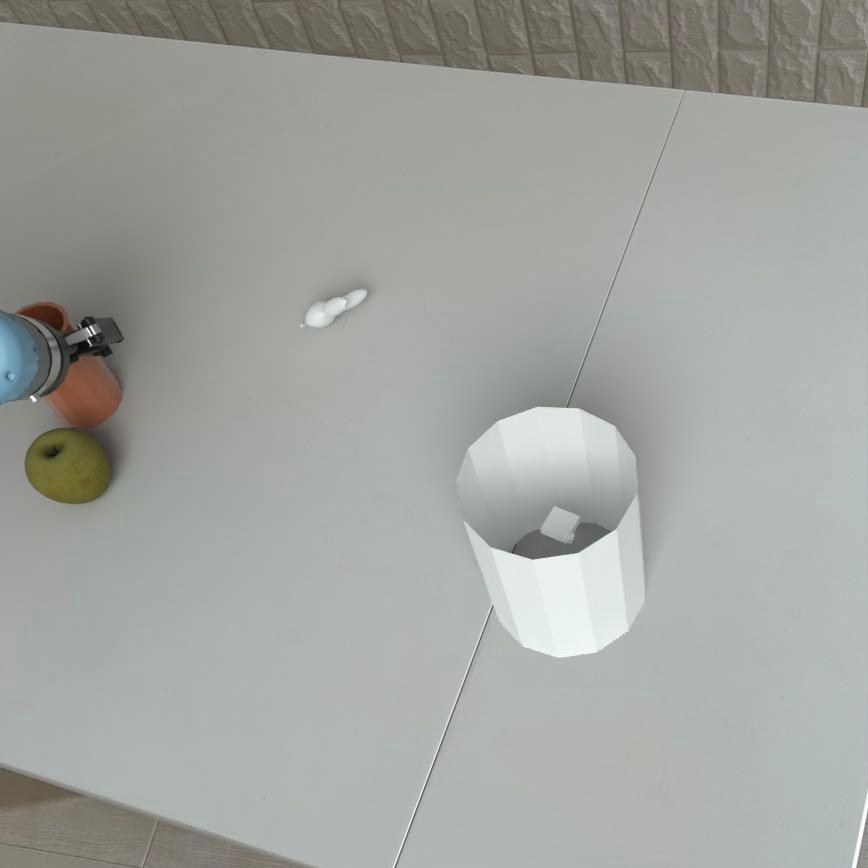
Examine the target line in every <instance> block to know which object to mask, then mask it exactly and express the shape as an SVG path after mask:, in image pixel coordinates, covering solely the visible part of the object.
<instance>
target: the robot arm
mask: <svg viewBox="0 0 868 868" xmlns="http://www.w3.org/2000/svg"><path fill="white" fill-rule="evenodd" d="M76 326H77V328H78V329H79V330H76V331H72V332H68V331H63V330H61V329H59V330H55V329H54V328H53V327H51V326H50V325H48V324H46V323H45V322H43V321H40V320H37V319H34V318H30V317H26V316H23V315H18V314H13V313H10V312H6V311H4V310H2V309H0V406H1V405H4V404H7V403H10V402H16V401H27V402H29V403H30V404H37V403H40V401H41V399H42V397H44V396H46V395H48V394H50V393H52V392H54V391H55V390H56V389H57V388H58V387H59V386H60V385H61V384H62V383H63V381H64V380H65V378H66V376H67V373H68V370H69V365H71V364H73V363H75V362H77V361H79V357H82V356H85V355H88V354H92V353H93V354H94V356H100V357H102V358H106V357H109V356H111V355H112V354H114V352H113V350H112V348H111V347H110V345H113V344H120V343H122V342H123V341H124V340H125V337H124V335H123V333H122V332H121V329H120V328H119V326H118V324H117V323H116V321H115V319H114V317H113V316H112V317H111V316H110V317H94V316H93V315H91V316H89V315H87V316H85V317H83V319H82V320H80V322H78V323H77V324H76Z"/></svg>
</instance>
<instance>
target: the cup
mask: <svg viewBox="0 0 868 868" xmlns="http://www.w3.org/2000/svg"><path fill="white" fill-rule="evenodd" d="M12 314H18V315H23V316H26V317H30V318H34V319H37V320H40V321H43V322H45V323H46V324H48V325H50V326H51V327H53V328H54V329H55V330H59V329H61V330H63V331H68V332H72V331H76V330H79V329H78V328H77V326H76V325H77V324H76V322H75V321H74V320H73V318H72V317H71V315H70V314H69V313H68V311H67V310H66V309H65V308H64V307H63V305H60V304H58V303H56V302H53V301H38V302H34V303H31V304H28V305H25V306H23V307H21V308H20V309H18V310H17V311H15V312H13V313H12ZM41 399H42V400H43V401H44V402H45V403H46V404H47V406H48V407H49V408H50V410H51V411H52V412H53V413H54V414H55V415H56V416H57V418H58V419H59V420H60V421H61V422H62V423H63V424H64V425H66V426H68V427H69V428H74V429H86V428H91V427H94V426H97V425H99V424H101V423H102V422H104V421H106V420H107V419H109V418H110V417H111V416H112V415H113V414H114V413H115V412H116V411H117V410H118V408H119V406H120V404H121V403H122V399H123V389H122V386H121V384H120V383H119V381H118V379H117V378H116V377H115V375H114V374H113V372H112V371H111V370H110V368H109V367H108V366H107V364H106V363H105V362H104V360H103V359H102V358H101V356H94V354H93V353H92V354H88V355H85V356H82V357H79V361H77V362H75V363H73V364H71V365H69V370H68V373H67V376H66V378H65V380H64V381H63V383H62V384H61V385H60V386H59V387H58V388H57V389H56V390H55V391H54V392H52V393H50V394H48V395H46V396H44V397H41Z"/></svg>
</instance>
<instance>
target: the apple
mask: <svg viewBox="0 0 868 868" xmlns="http://www.w3.org/2000/svg"><path fill="white" fill-rule="evenodd" d="M23 466H24V472H25V476H26V478H27V480H28V483H30V485H31V486H32V487H33V489H35V491H37V492H38V493H39V494H40V495H42V496H43V497H45V498H47V499H49V500H51V501H54V502H57V503H62V504H68V505H82V504H87V503H91V502H93V501H95V500H96V499H99V498H100V497H101V496H102V495H103V494H104V492H105V491H106V490H107V488H108V486H109V483H110V480H111V464H110V461H109V458H108V455H107V453H106V451H105V450H104V448H103V447H102V446H101V444H100V443H99V442H98V441H97V440H96V439H95V438H94V437H93V436H92V435H91V434H88V433H87V432H85V431H83V430H81V429H79V428H74V427H58V428H53V429H50V430H47V431H45V432H43V433H41V434H40V435H38V436H37V437H36V438H35V439H34V440H33V441H32V443H31V444H30V446H29V447H28V448H27V451H26V454H25V457H24V465H23Z"/></svg>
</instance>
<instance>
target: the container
mask: <svg viewBox="0 0 868 868" xmlns="http://www.w3.org/2000/svg"><path fill="white" fill-rule="evenodd" d="M638 478H639V477H638V465H637V456H636V455H635V453H634V452H633V450H632V449H631V447H630V445H629V444H628V443H627V441H626V440H625V439H624V437H623V436H622V434H621V432H620V431H619V430H618V428H617V427H616V426H615V425H614V424H612V423H609V422H608V421H605V420H603V419H602V418H600V417H598V416H596V415H594V414H592V413H589V412H587V411H585V410H583V409H581V408H577V407H555V406H554V407H553V406H535V407H533V408H530V409H527V410H523V411H522V412H518V413H516V414H513V415H511V416H508V417H505V418H502V419H499V420H497V421H496V422H495V423H493V425H491V427H489V428H488V429H487V430H486V431H485V432H484V433H483V434H482V435H481V436H480V437H479V438H478V439H476V441H474V442H473V443H472V444H471V445H470V446H468V448H467V450H466V453H465V455H464V458H463V461H462V464H461V467H460V469H459V473H458V475H457V478H456V481H455V483H454V485H455V489H456V494H457V498H458V503H459V507H460V513H461V517H462V521H463V524H464V527H465V529H466V532H467V536H468V538H469V540H470V544H471V547H472V550H473V552H474V556H475V558H476V560H477V563H478V566H479V569H480V572H481V575H482V577H483V580H484V583H485V586H486V588H487V592H488V596H489V598H490V600H491V604H492V606H493V609H494V612H495V614H496V617H497V620H498V622H499V623H500V624H501V626H503V628H504V629H506V630H507V632H508V633H509V634H510V635H511V636H512V637H513V638H514V639H515V640H516V641H517V642H518V643H519V644H520V645H521V647H523V648H526V649H529V648H530V649H529V650H531V651H535V652H538V651H539V653H541V652H542V654H545V655H548V656H550V655H551V657H553V658H557V659H561V658H569V657H575V656H583V655H582V654H584V655H590V653H591V654H597V653H599V652H600V651H602V650H603V649H604V647H605V648H606V647H607V645H608V646H610V643H611V644H613V641H614V640H615V641H617V640H618V639H620V638H621V637H623V636H624V635H626V634H627V633H629V632H630V630H629V629H631V628H632V626H633V624H634V623H635V621H636V619H637V617H638V615H639V614H640V612H641V610H640V609H642V608H643V606H644V604H645V603H646V574H645V573H646V572H645V570H646V569H645V556H644V544H643V533H642V532H643V531H642V529H643V528H642V518H641V506H640V504H641V503H640V496H639V495H640V492H639V479H638ZM580 523H586V524H597V525H599V526H600V525H601V526H600V527H602V526H603V527H602V528H604V529H606V530H608V531H609V533H607V534H606V535H604V536H603V537H601V538H599V539H598V540H596V541H595V542H593V543H591V544H590V545H589V546H587V547H585V548H584V549H582V550H581V551H579V552H576V553H569V554H562V555H555V556H550V557H549V556H548V557H542V558H535V559H531V558H528V557H525V556H522V555H519V554H515V553H510V551H511V550H512V549H513V548H514V547H515V546H516V545H517V544H518V543H519V542H520V541H521V540H523V538H524V537H526V535H527V534H530V533H532V532H535V531H538V530H540V534H542V535H544V536H547V537H549V538H551V539H554V540H556V541H559V542H562V543H564V544H568V543H569V544H572V543H573V542H574V539H575V538H576V536H575V535H576V534H575V532H576V530H577V528H578V527H579V525H580ZM611 531H612V532H611ZM642 605H643V606H642ZM641 607H642V608H641ZM637 614H638V615H637ZM636 616H637V617H636ZM635 618H636V619H635ZM634 620H635V621H634ZM632 623H633V624H632ZM631 625H632V626H631ZM630 627H631V628H630ZM626 632H627V633H626ZM625 633H626V634H625ZM623 634H624V635H623ZM622 635H623V636H622ZM620 636H621V637H620ZM619 637H620V638H619ZM616 639H617V640H616ZM615 641H614V642H615ZM599 650H600V651H599Z"/></svg>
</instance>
